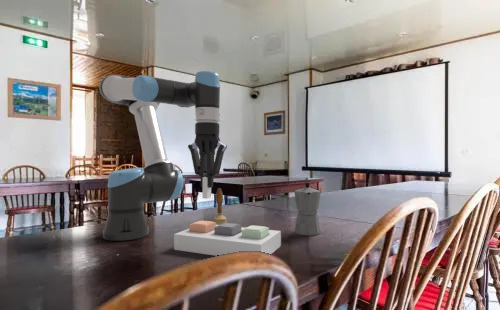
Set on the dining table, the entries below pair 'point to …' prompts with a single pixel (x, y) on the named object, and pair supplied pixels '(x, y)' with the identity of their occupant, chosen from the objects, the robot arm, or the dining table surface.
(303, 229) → the coffeepot
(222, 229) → the charcoal key
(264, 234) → the sage key
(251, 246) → the white button panel
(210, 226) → the terracotta key
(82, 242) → the dining table surface
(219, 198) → the hand bell
